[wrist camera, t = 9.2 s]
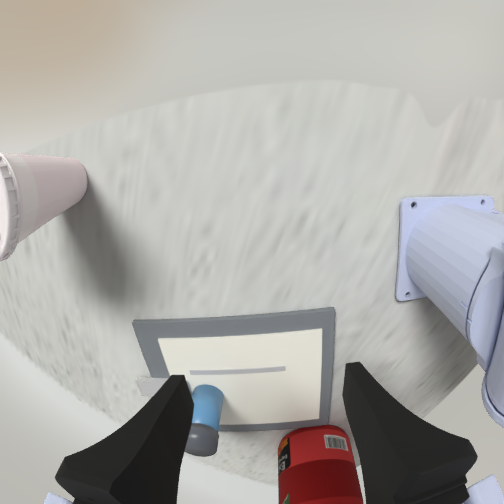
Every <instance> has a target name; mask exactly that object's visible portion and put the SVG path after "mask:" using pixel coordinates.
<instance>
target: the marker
mask: <svg viewBox="0 0 504 504" xmlns="http://www.w3.org/2000/svg"><path fill="white" fill-rule="evenodd" d="M223 398H224V395H223V393H222V391H221V390H220V389H218V388H217V387H215V386H212V385H207V384H203V385H199V386H197V387H195V388H194V390H193V393H192V399H193V402H194V412H193V420H192V425H191V429H190V433H189V436H188V440H187V444H186V447H185V452H187V453H189V454H192V455H195V456H202V457H205V456H211V455H214V454H215V453H216V452H217V446H218V439H219V434H218V431H219V424H220V417H221V411H222V404H223Z"/></svg>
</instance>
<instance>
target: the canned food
mask: <svg viewBox="0 0 504 504" xmlns="http://www.w3.org/2000/svg"><path fill="white" fill-rule="evenodd" d="M278 481H279V504H363V498H362V493H361V489H360V484H359V479H358V475H357V470H356V466H355V462H354V457H353V453H352V449H351V445H350V441H349V438H348V436H347V435H346V433H345V432H344V431H343V430H342V429H341V428H339V427H336V426H332V425H320V426H312V427H303V428H299V429H297V430H294V431H292V432H290V433H289V434H287V435H286V436H285V437H284V438H283V439H282V440H281V442H280V445H279V448H278Z"/></svg>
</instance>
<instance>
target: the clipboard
mask: <svg viewBox="0 0 504 504" xmlns="http://www.w3.org/2000/svg"><path fill="white" fill-rule="evenodd" d="M132 325H133V328H134V331H135V334H136V337H137V339H138V342H139V345H140V348H141V351H142V353H143V356H144V359H145V361H146V364H147V366H148V369H149V371H150V374H151V376H152V378H149V377H137V379H136V383H137V385H138V387H139V389H140V392H141V394H142V396H151V397H153V396H154V395H155V394H156V392H157V391H158V390H159V389H160V388H161V387H162V385H163V384H164V383H165V382H166V381H167V380H168V378H169V377H170V376H171V375H185V378H186V381H187V384H188V387H189V390H190V393H191V396H192V393H193V390H194V388H195V387H197V386H199V385H203V384H207V385H212V386H215V387H217V388H218V389H220V390H221V391H222V393H223V395H224V398H223V404H222V411H221V417H220V424H219V431H265V430H281V429H293V428H303V427H312V426H320V425H328V418H329V408H330V396H331V384H332V369H333V352H334V329H335V309H334V307H329V308H320V309H311V310H301V311H291V312H280V313H268V314H256V315H242V316H227V317H210V318H189V319H161V320H134V321H133V322H132Z"/></svg>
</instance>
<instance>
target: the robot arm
mask: <svg viewBox="0 0 504 504" xmlns="http://www.w3.org/2000/svg"><path fill="white" fill-rule="evenodd" d="M481 201H482V204H481ZM412 202H414V203H415V205H414V207H413V208H412V207H411V203H412ZM407 292H409V293H408V295H406V296H405V294H406V293H407ZM395 297H396V299H397V300H398V301H406V300H412V299H418V298H424V297H428V298H429V299H430V300H431V301H432V302H433V303H434V304H435V305H436V306H437V307H438V308H439V309H440V311H441V312H442V313H443V314H444V315H445V316H446V317H447V318H448V319H449V320H450V321H451V323H452V324H453V325H454V326H455V327H456V328H457V329H458V330H459V332H460V333H461V334H462V335H463V336H464V337H465V338H466V340H467V341H468V342H469V343H470V344H471V345H472V346H473V348H474V349H475V350H476V353H477V358H476V361H477V362H478V363H479V365H480V366H481V367H482V368H483V370H484V371H485V372H486V373H485V376H484V379H483V383H482V400H483V403H484V406H485V408H486V410H487V412H488V414H489V415H490V416H491V418H492V419H493V420H494V421H495V422H496V423H498V424H499V425H501V426H502V427H504V213H502V212H500V211H497V210H494V198H493V197H491V196H437V197H409V198H404V199H402V201H401V203H400V236H399V256H398V270H397V282H396V292H395ZM343 400H344V405H345V410H346V415H347V418H348V421H349V424H350V427H351V431H352V434H353V437H354V440H355V443H356V446H357V449H358V453H359V457H360V462H361V468H362V474H363V480H364V487H365V496H366V504H504V496H503V493H502V491H501V489H500V487H499V484H498V482H497V480H496V478H495V476H494V475H490V476H488V477H486V478H485V479H483V480H481V481H479V482H477V483H475V484H473V485H472V486H470V487H469V488H466V486H465V483H467V479H466V476H465V475H466V473H467V472H468V471H469V470H470V469H471V467H472V466H473V465H474V463H475V462H476V460H477V454H476V452H475V450H474V448H473V446H472V444H471V443H470V441H469V440H468V439H465V438H462V437H459V436H456V435H453V434H450V433H448V432H446V431H443V430H441V429H439V428H437V427H435V426H433V425H431V424H430V423H428V422H426V421H424V420H422V419H421V418H419V417H418V416H416V415H415V414H413V413H412V412H410V411H409V410H408V409H406V408H405V407H404V406H403V405H401V404H400V403H399V402H398V401H397V400H396V399H394V398H393V397H392V396H391V395H390V394H389V393H388V392H387V391H386V390H385V389H384V388H383V387H382V386H381V385H380V384H379V383H378V382H377V381H376V380H375V379H374V378H373V377H372V375H371V374H370V373H369V372H368V371H367V370H366V369H365V367H364V366H363V365H362V364H361V363H360V362H354V363H347V364H346V368H345V377H344V387H343ZM193 412H194V402H193V399H192V396H191V393H190V390H189V387H188V384H187V381H186V378H185V375H171V376H170V377H169V378H168V380H167V381H166V382H165V383H164V384H163V385H162V387H161V388H160V389H159V390H158V391H157V392H156V394H155V395H154V396H153V397H152V398H151V399H150V400H149V401H148V402H147V403H146V405H145V406H144V407H143V408H142V409H141V410H140V411H139V412H138V413H137V414H136V415H135V416H134V417H132V418H131V419H130V420H129V421H128V422H127V423H126V424H124V425H123V426H122V427H121V428H119V429H118V430H117V431H115V432H114V433H112V434H111V435H109V436H108V437H106V438H105V439H103V440H101V441H100V442H98V443H96V444H94V445H92V446H90V447H88V448H86V449H84V450H82V451H80V452H77V453H74V454H72V455H69V456H67V457H65V458H64V460H63V462H62V464H61V466H60V468H59V470H58V472H57V474H56V476H55V479H56V481H57V482H58V483H59V485H61V486H62V487H63V488H64V489H65V490H66V491H67V492H68V493H69V494H71V495H72V496H73V497H74V498H75V500H74V502H73V503H72V502H71V501H69V500H67V499H65V498H63V497H60V496H58V495H56V494H53V493H51V492H49V493H48V495H47V498H46V499H45V501H44V504H177V492H178V482H179V474H180V467H181V463H182V458H183V455H184V451H185V447H186V444H187V440H188V436H189V433H190V429H191V425H192V420H193Z"/></svg>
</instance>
